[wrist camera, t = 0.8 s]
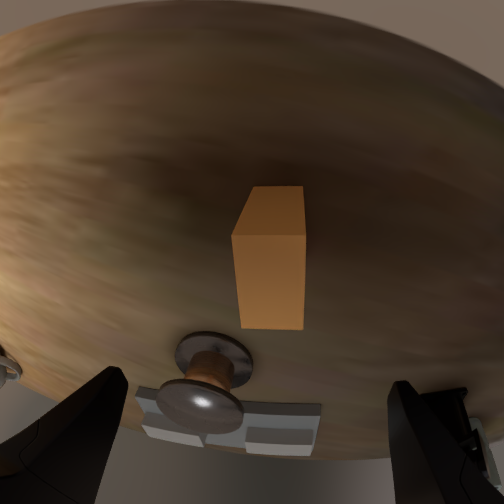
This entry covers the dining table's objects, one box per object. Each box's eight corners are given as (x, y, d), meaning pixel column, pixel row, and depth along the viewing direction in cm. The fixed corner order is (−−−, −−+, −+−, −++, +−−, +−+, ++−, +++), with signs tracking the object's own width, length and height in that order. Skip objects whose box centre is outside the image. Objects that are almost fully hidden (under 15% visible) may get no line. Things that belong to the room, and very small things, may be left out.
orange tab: (303, 186, 18) (306, 235, 12) (302, 258, 21) (303, 330, 14) (253, 186, 19) (231, 235, 13) (258, 258, 21) (241, 328, 15)
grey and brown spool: (250, 334, 24) (238, 393, 19) (255, 385, 28) (246, 438, 22) (169, 328, 25) (144, 380, 20) (186, 378, 29) (168, 427, 23)
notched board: (320, 404, 28) (320, 432, 25) (312, 441, 32) (312, 464, 29) (139, 386, 31) (128, 409, 28) (160, 425, 35) (152, 445, 32)
